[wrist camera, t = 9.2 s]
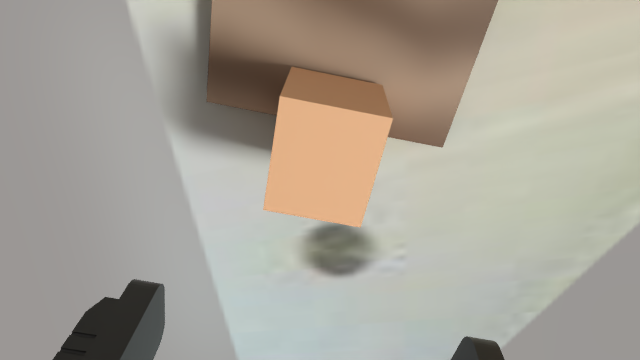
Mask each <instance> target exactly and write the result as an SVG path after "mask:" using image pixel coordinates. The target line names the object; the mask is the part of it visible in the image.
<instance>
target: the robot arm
mask: <svg viewBox="0 0 640 360" xmlns="http://www.w3.org/2000/svg"><path fill="white" fill-rule="evenodd" d="M164 323H165V303H164V285H163V284H159V283H153V282H146V281H141V280H135V279H134V280H132V281H131V282H130V283H129V284H128V286H127V287H126V289H125V291H124V292H123V294H122V295H121V297H120V299H114V298H108V297H105V298H104V299H102V300H101V301H100V302H99V303H97V304H96V305H94V306H93V307H92V308H90V309H89V310H88V311H86V312H85V314H84V315H83V317H82V318H81V319H80V321H79V322H78V324H77V325H76V327H75V328H74V330H73V331H72V334H71V335H69V337H68V338H67V340H66V341H65V343H64V344H63V346H62V347H61V350H60V352H58V353H57V354H56V356H55V357H54V359H53V360H153V358H154V356H155V354H156V351H157V350H158V347H159V345H160V342H161V339H162V335H163V330H164ZM451 360H504V357H503V355H502V352H501V350H500V347H499V346H498V344H497V343H496V342H495V341H491V340H485V339H479V338H473V337H464V338H463V339H462V341H461V343H460V345H459V346H458V348H457V350H456V352H455V353H454V355H453V357H452V359H451Z"/></svg>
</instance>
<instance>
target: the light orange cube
mask: <svg viewBox="0 0 640 360" xmlns="http://www.w3.org/2000/svg"><path fill="white" fill-rule="evenodd" d="M392 120H393V117H392V113H391V110H390V107H389V104H388V101H387V98H386V94H385V91H384V88H383V85H381V84H376V83H371V82H366V81H361V80H356V79H351V78H346V77H341V76H336V75H331V74H326V73H321V72H316V71H311V70H306V69H301V68H296V67H291V69H290V72H289V74H288V77H287V79H286V82H285V84H284V87H283V89H282V92H281V94H280V98H279V105H278V112H277V119H276V126H275V133H274V139H273V146H272V153H271V160H270V167H269V174H268V181H267V187H266V194H265V201H264V208H263V210H267V211H272V212H278V213H283V214H289V215H294V216H300V217H305V218H311V219H317V220H322V221H328V222H333V223H339V224H344V225H350V226H355V227H361V224H362V221H363V217H364V214H365V211H366V207H367V204H368V201H369V197H370V194H371V191H372V187H373V184H374V181H375V177H376V174H377V171H378V167H379V164H380V161H381V157H382V154H383V150H384V147H385V144H386V140H387V137H388V134H389V130H390V127H391V124H392Z"/></svg>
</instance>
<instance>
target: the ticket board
mask: <svg viewBox="0 0 640 360" xmlns="http://www.w3.org/2000/svg"><path fill="white" fill-rule="evenodd" d="M497 2H498V0H212V8H211V27H210V45H209V64H208V83H207V102H211V103H216V104H221V105H226V106H232V107H237V108H242V109H247V110H252V111H257V112H262V113H268V114H273V115H277V112H278V105H279V98H280V94H281V92H282V89H283V87H284V84H285V82H286V79H287V77H288V74H289V72H290V69H291V67H296V68H301V69H306V70H311V71H316V72H321V73H326V74H331V75H336V76H341V77H346V78H351V79H356V80H361V81H366V82H371V83H376V84H381V85H383V88H384V91H385V94H386V98H387V101H388V104H389V107H390V110H391V113H392V117H393V120H392V124H391V127H390V130H389V134H388V137H391V138H396V139H401V140H407V141H412V142H417V143H422V144H427V145H432V146H437V147H443V145H444V142H445V140H446V137H447V134H448V132H449V129H450V126H451V124H452V121H453V118H454V116H455V113H456V111H457V108H458V105H459V103H460V100H461V97H462V95H463V92H464V89H465V87H466V84H467V81H468V79H469V76H470V73H471V71H472V68H473V66H474V63H475V60H476V58H477V55H478V52H479V50H480V47H481V44H482V42H483V39H484V36H485V34H486V31H487V28H488V26H489V23H490V20H491V18H492V15H493V13H494V10H495V7H496V5H497Z"/></svg>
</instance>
